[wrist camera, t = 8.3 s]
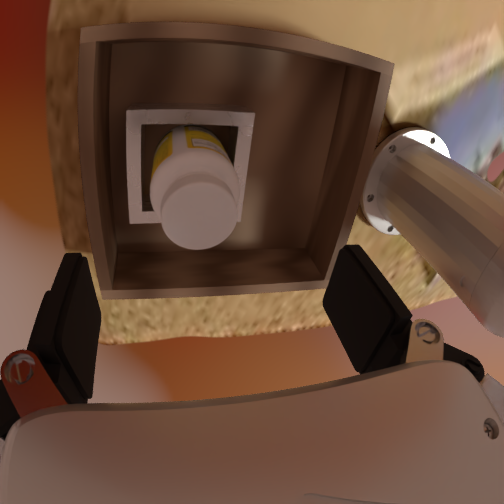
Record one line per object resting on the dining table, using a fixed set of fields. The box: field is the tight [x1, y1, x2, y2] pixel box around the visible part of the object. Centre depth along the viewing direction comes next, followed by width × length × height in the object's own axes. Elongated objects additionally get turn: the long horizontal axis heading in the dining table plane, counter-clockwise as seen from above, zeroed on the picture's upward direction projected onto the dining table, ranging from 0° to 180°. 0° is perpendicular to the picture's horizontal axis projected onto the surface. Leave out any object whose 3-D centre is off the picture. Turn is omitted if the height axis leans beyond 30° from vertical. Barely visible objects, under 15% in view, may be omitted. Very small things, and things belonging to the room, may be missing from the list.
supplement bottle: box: [150, 124, 240, 250], centre depth 20 cm, size 5×5×10 cm
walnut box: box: [78, 22, 394, 300], centre depth 23 cm, size 20×20×6 cm
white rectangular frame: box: [126, 103, 255, 224], centre depth 22 cm, size 8×8×3 cm
